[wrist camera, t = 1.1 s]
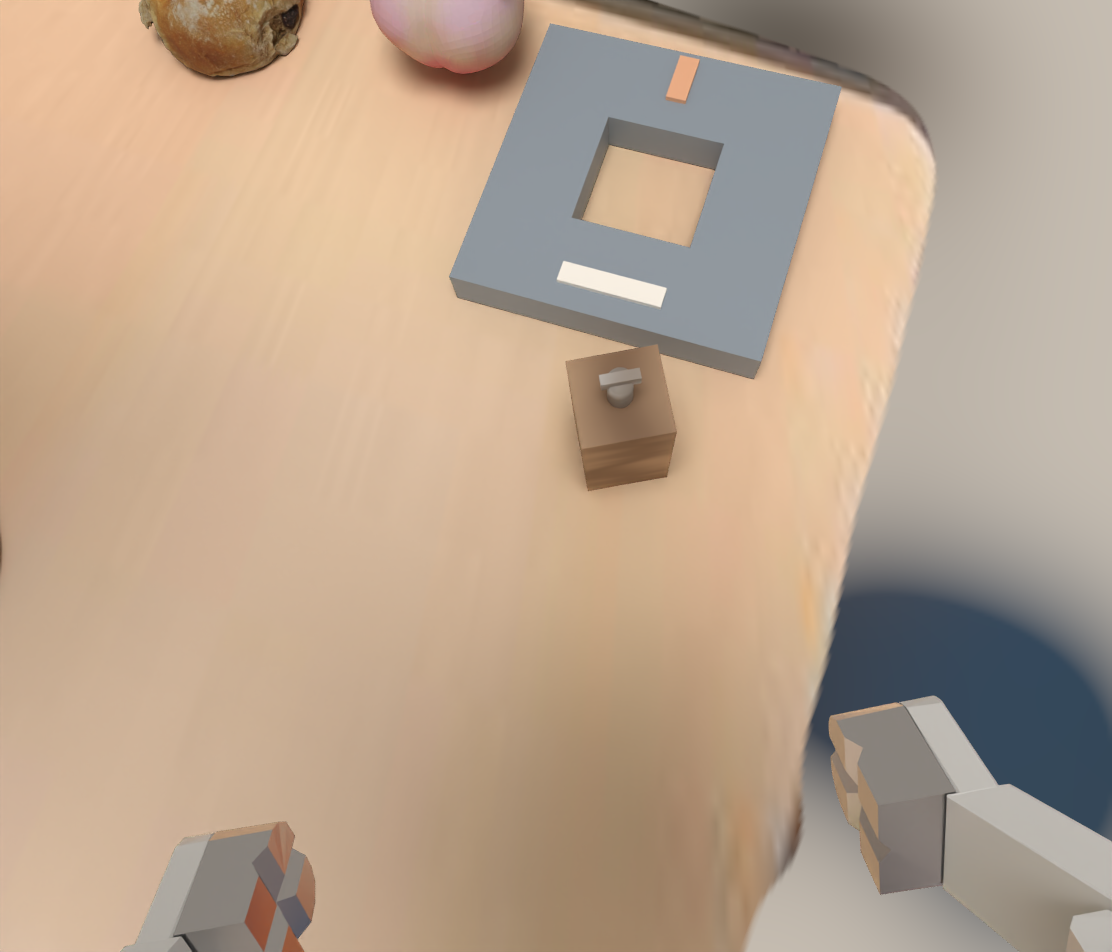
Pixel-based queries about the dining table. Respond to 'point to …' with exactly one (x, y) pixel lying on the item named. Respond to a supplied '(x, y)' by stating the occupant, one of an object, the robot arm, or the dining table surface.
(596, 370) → the wooden peg with knob
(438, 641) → the dining table surface
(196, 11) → the bread roll
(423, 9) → the decorative fruit
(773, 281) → the socket plate
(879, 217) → the dining table surface
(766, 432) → the dining table surface
